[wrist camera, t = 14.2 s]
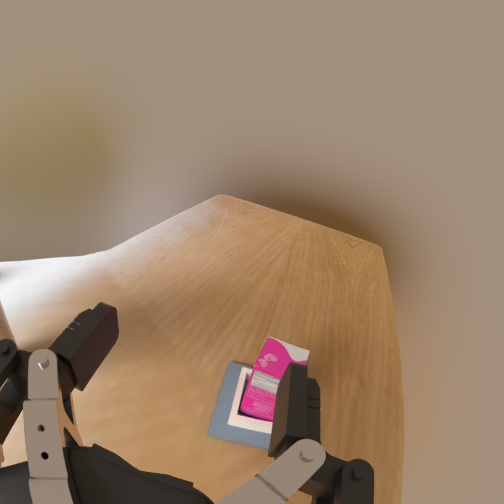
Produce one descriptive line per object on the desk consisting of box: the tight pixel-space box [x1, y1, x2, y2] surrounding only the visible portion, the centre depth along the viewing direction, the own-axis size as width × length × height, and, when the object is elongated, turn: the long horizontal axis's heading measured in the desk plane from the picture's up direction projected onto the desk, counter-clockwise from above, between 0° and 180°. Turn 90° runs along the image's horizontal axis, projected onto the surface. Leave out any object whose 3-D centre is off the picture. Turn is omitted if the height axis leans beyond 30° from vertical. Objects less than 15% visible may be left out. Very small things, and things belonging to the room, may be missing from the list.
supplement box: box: [239, 337, 310, 422], centre depth 34 cm, size 6×6×12 cm
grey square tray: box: [207, 361, 273, 450], centre depth 37 cm, size 14×14×3 cm
